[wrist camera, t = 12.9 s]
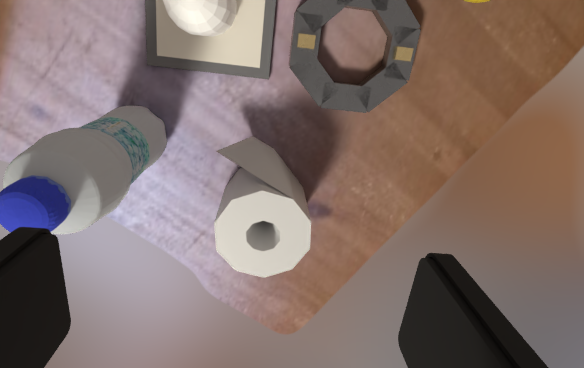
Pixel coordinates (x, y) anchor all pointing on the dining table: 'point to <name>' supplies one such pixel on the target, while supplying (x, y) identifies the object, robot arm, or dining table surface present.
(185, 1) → the capsule
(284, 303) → the dining table surface
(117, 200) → the bottle
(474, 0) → the lemon
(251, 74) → the mat
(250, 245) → the toilet tissue
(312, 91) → the socket ring
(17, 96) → the dining table surface
